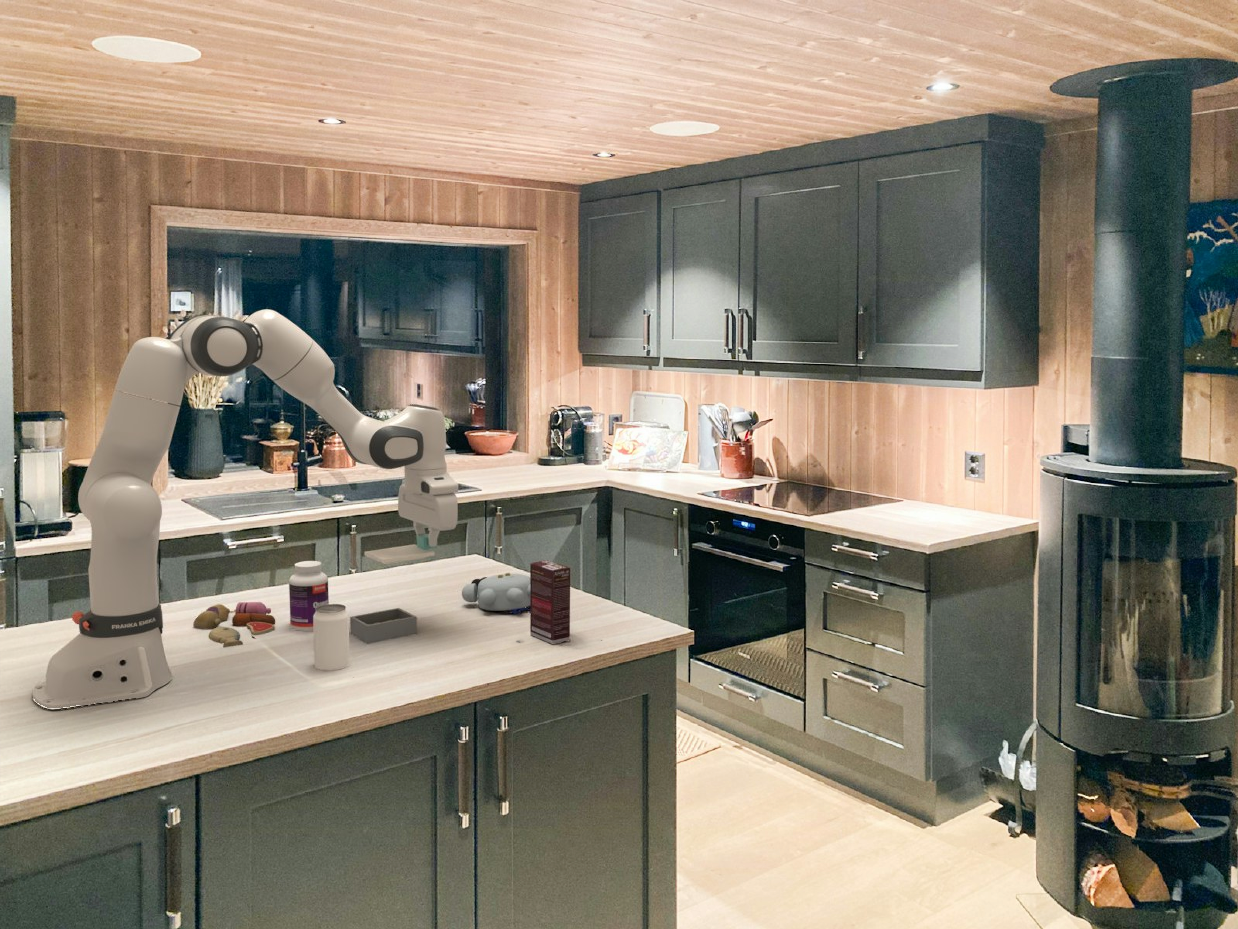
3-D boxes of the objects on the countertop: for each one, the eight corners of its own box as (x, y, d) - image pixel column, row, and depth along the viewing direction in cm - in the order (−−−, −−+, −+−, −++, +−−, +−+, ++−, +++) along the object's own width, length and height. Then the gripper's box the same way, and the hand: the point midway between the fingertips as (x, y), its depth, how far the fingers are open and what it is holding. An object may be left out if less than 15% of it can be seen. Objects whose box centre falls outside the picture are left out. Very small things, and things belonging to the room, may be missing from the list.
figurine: (559, 606, 237) (504, 597, 251) (556, 570, 237) (502, 564, 251) (502, 621, 225) (448, 611, 239) (499, 583, 224) (445, 576, 238)
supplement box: (571, 640, 213) (571, 567, 211) (552, 645, 210) (552, 570, 208) (547, 630, 219) (547, 559, 217) (529, 635, 216) (529, 562, 214)
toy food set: (180, 622, 224) (179, 604, 224) (253, 609, 235) (252, 592, 234) (223, 651, 205) (222, 631, 205) (300, 635, 216) (299, 617, 215)
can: (331, 676, 190) (329, 614, 188) (307, 670, 193) (305, 609, 192) (356, 667, 195) (355, 606, 194) (333, 660, 199) (331, 601, 197)
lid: (383, 566, 206) (382, 547, 206) (364, 558, 213) (364, 539, 213) (443, 556, 215) (443, 538, 214) (424, 549, 222) (423, 531, 221)
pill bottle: (318, 635, 214) (316, 569, 212) (283, 633, 216) (281, 567, 213) (336, 624, 222) (334, 560, 220) (302, 622, 223) (300, 558, 221)
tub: (367, 647, 207) (367, 626, 206) (350, 637, 213) (350, 616, 212) (417, 637, 214) (416, 616, 213) (399, 627, 220) (398, 607, 219)
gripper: (390, 475, 221) (391, 537, 223) (435, 488, 205) (436, 554, 207) (416, 472, 225) (417, 533, 227) (462, 485, 209) (463, 550, 211)
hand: (426, 543), depth 217 cm, fingers closed on lid, 3 cm apart
